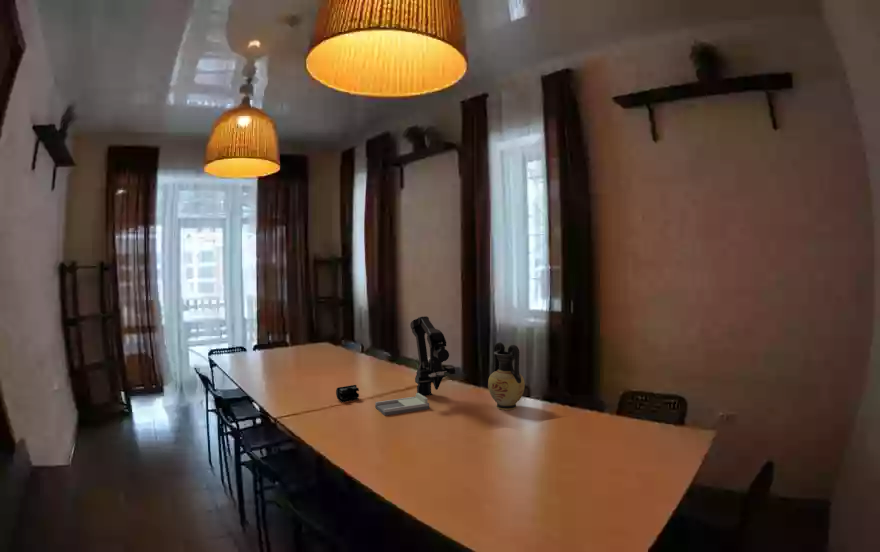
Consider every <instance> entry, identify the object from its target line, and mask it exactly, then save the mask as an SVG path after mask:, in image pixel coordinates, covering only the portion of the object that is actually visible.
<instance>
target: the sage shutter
mask: <svg viewBox="0 0 880 552" xmlns="http://www.w3.org/2000/svg"><path fill="white" fill-rule="evenodd" d="M415 397H416V398H410V399H403V400H397V402H398V403H400V404H401V405H402V406H409V405H416V404H423V403H429V401H428V397H426V396H423V395H421V394H420V393H417V392H416V393H415Z"/></svg>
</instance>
